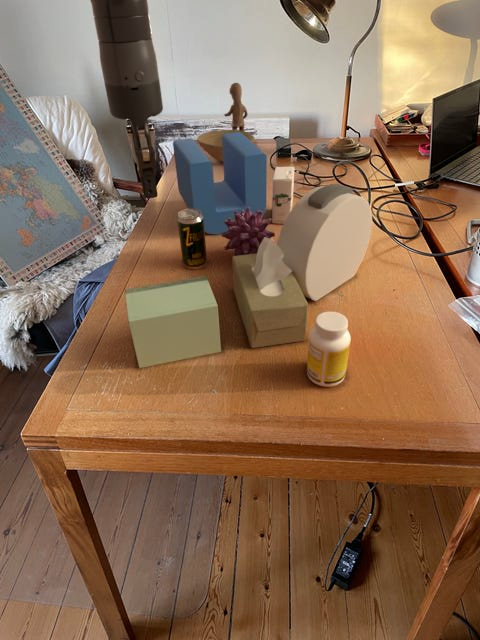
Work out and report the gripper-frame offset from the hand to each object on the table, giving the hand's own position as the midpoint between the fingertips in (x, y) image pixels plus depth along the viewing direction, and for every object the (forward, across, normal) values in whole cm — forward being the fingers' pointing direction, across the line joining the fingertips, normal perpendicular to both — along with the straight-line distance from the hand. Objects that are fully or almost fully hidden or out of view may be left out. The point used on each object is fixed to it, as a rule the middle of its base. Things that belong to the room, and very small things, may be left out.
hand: (150, 196), depth 74 cm
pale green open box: (+23, +10, 0) cm, 25 cm away
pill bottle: (+24, +24, +22) cm, 40 cm away
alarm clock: (+23, 0, +32) cm, 39 cm away
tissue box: (+24, +7, +18) cm, 30 cm away
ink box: (+24, -32, +34) cm, 52 cm away
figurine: (+24, -92, +38) cm, 102 cm away
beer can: (+24, -16, +8) cm, 29 cm away
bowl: (+24, -76, +30) cm, 85 cm away
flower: (+24, -14, +20) cm, 34 cm away
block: (+24, -36, +19) cm, 47 cm away
